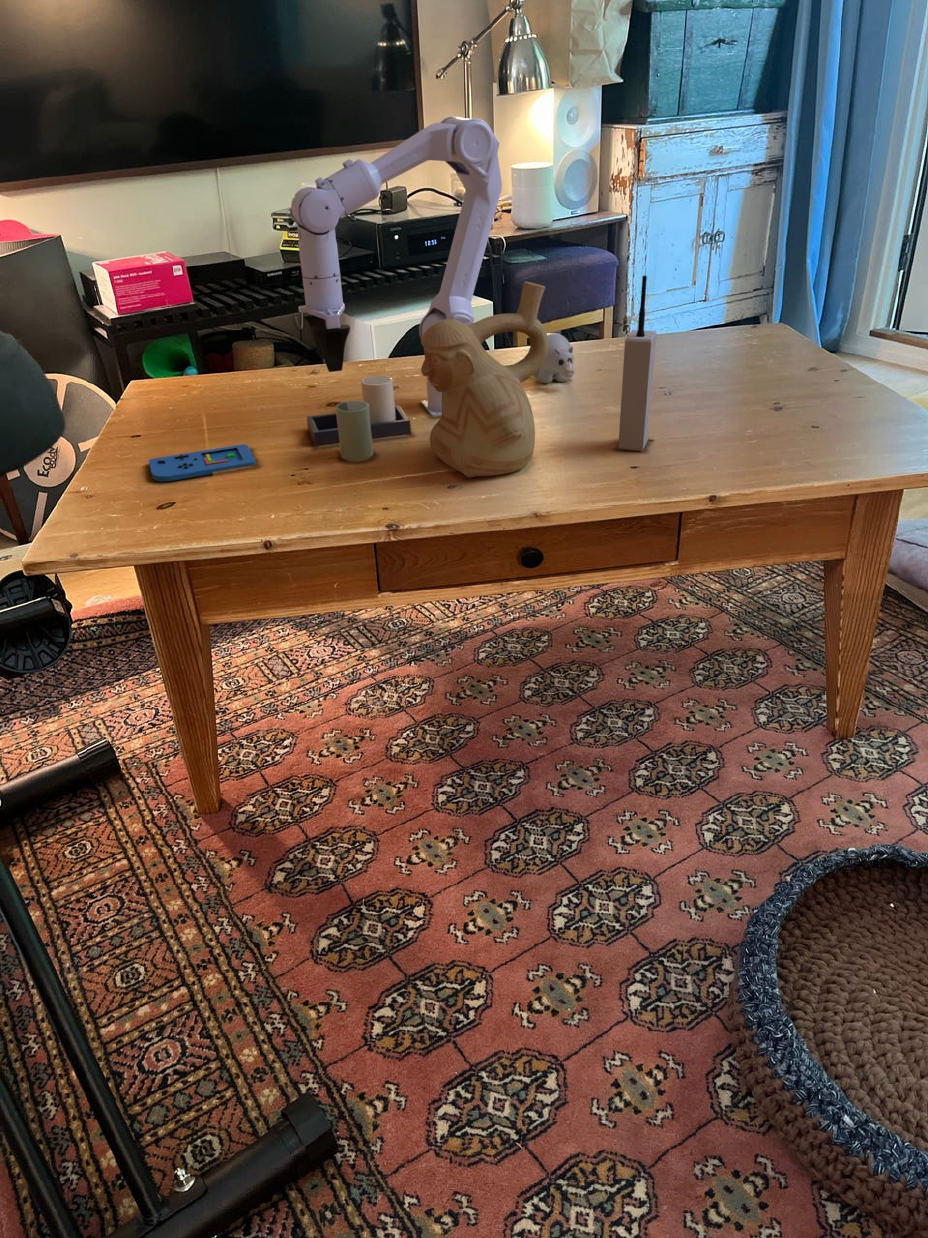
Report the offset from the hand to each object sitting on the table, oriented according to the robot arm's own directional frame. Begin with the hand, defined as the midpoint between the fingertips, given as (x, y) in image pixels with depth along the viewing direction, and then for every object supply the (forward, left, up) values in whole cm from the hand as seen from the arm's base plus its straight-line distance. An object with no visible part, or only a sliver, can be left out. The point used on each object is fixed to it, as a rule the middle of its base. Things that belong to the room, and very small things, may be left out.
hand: (331, 364), depth 144 cm
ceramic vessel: (-19, +24, -11) cm, 32 cm away
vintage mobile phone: (-42, +25, -11) cm, 50 cm away
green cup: (-1, +15, -10) cm, 18 cm away
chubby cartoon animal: (-42, -8, -11) cm, 44 cm away
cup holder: (-3, +5, -10) cm, 12 cm away
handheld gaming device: (+22, +10, -10) cm, 26 cm away
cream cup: (-6, +5, -10) cm, 13 cm away
